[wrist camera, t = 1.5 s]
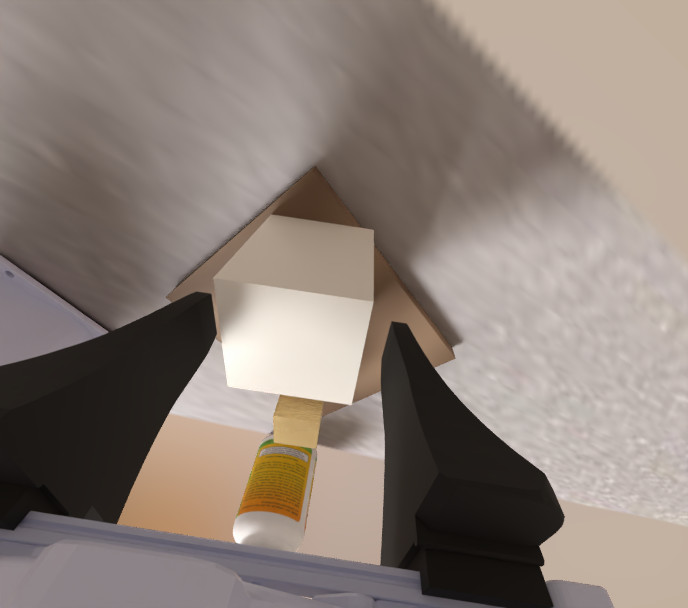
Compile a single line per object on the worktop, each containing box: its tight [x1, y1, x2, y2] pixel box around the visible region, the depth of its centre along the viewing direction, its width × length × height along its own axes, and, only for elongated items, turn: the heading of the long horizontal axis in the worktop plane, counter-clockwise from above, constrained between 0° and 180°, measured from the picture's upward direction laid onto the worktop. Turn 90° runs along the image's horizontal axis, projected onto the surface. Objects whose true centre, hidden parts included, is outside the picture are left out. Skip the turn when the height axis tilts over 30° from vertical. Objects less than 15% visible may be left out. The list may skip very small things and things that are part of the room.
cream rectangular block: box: [213, 214, 374, 405], centre depth 14 cm, size 5×5×7 cm
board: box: [166, 166, 455, 416], centre depth 20 cm, size 14×12×1 cm
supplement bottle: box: [233, 434, 317, 552], centre depth 25 cm, size 5×5×10 cm
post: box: [273, 394, 324, 449], centre depth 20 cm, size 3×3×4 cm
